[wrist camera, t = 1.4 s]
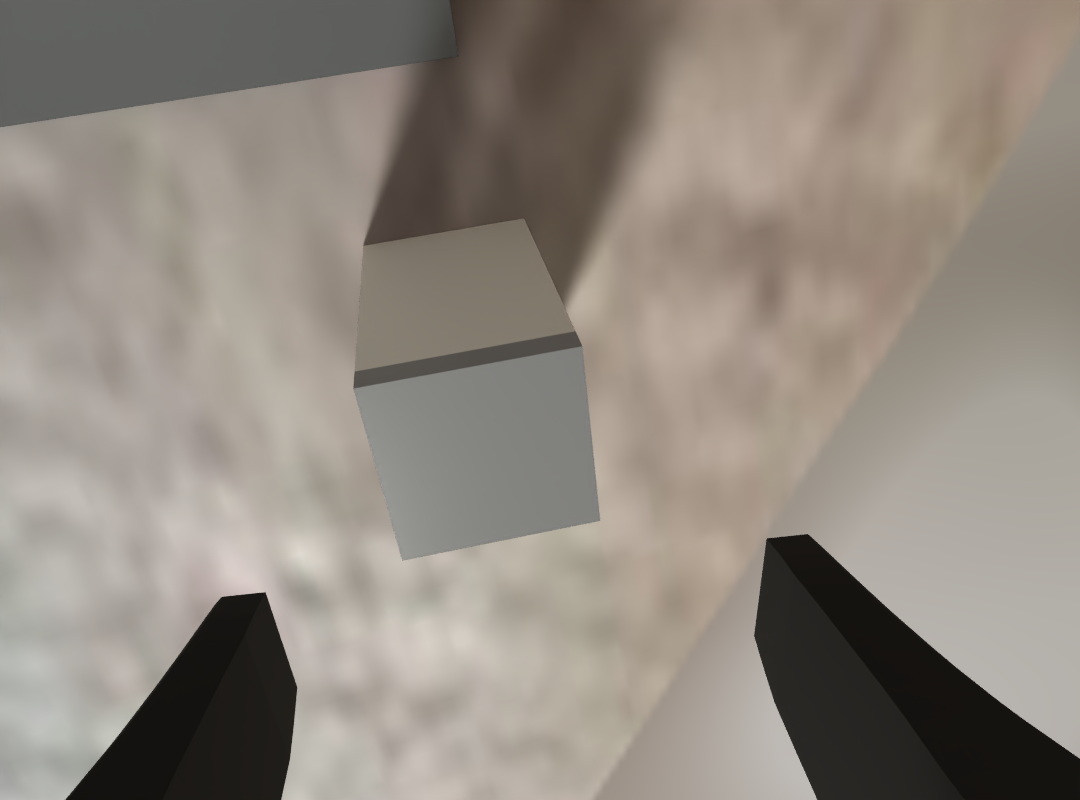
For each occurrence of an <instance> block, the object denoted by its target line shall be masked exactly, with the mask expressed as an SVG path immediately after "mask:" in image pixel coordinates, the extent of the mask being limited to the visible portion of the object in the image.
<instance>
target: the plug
mask: <svg viewBox="0 0 1080 800" xmlns="http://www.w3.org/2000/svg"><path fill="white" fill-rule="evenodd" d="M353 389H354V392H355V396H356V399H357V403H358V406H359V410H360V413H361V417H362V420H363V424H364V427H365V431H366V434H367V438H368V441H369V445H370V449H371V452H372V456H373V459H374V463H375V466H376V470H377V473H378V477H379V480H380V484H381V487H382V491H383V494H384V498H385V501H386V505H387V508H388V512H389V515H390V519H391V522H392V526H393V530H394V533H395V537H396V540H397V544H398V547H399V551H400V554H401V558H402V561H403V560H408V559H413V558H418V557H423V556H428V555H433V554H438V553H443V552H448V551H453V550H458V549H463V548H467V547H472V546H477V545H482V544H487V543H492V542H497V541H502V540H507V539H512V538H517V537H522V536H527V535H532V534H537V533H542V532H547V531H552V530H557V529H562V528H566V527H571V526H576V525H581V524H586V523H591V522H596V521H600V514H599V505H598V495H597V485H596V475H595V465H594V456H593V446H592V436H591V426H590V416H589V407H588V397H587V387H586V377H585V367H584V358H583V348H582V344H581V342H580V340H579V338H578V336H577V334H576V331H575V329H574V327H573V325H572V323H571V320H570V318H569V316H568V314H567V312H566V309H565V307H564V305H563V303H562V301H561V298H560V296H559V294H558V292H557V290H556V288H555V285H554V283H553V281H552V279H551V277H550V274H549V272H548V270H547V268H546V266H545V263H544V261H543V259H542V257H541V255H540V253H539V250H538V248H537V246H536V244H535V242H534V239H533V237H532V235H531V233H530V231H529V228H528V226H527V224H526V222H525V220H524V218H523V219H517V220H511V221H506V222H500V223H494V224H488V225H482V226H476V227H471V228H465V229H459V230H453V231H447V232H441V233H435V234H430V235H424V236H418V237H412V238H406V239H400V240H395V241H389V242H383V243H377V244H371V245H365V246H363V256H362V271H361V285H360V300H359V315H358V329H357V344H356V359H355V374H354V388H353Z"/></svg>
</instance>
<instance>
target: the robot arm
mask: <svg viewBox="0 0 1080 800" xmlns="http://www.w3.org/2000/svg"><path fill="white" fill-rule="evenodd" d="M754 637H755V640H756V643H757V647H758V650H759V654H760V657H761V660H762V664H763V667H764V670H765V674H766V677H767V680H768V683H769V686H770V689H771V692H772V695H773V699H774V702H775V704H776V706H777V709H778V711H779V714H780V716H781V718H782V720H783V723H784V725H785V727H786V730H787V732H788V734H789V737H790V739H791V741H792V743H793V746H794V748H795V750H796V753H797V755H798V757H799V759H800V762H801V764H802V766H803V768H804V771H805V773H806V775H807V777H808V779H809V782H810V784H811V786H812V788H813V791H814V793H815V795H816V798H817V800H1080V759H1079V758H1078V757H1076V756H1075V755H1074V754H1072V753H1071V752H1069V751H1068V750H1066V749H1065V748H1064V747H1062V746H1061V745H1059V744H1058V743H1056V742H1055V741H1054V740H1052V739H1051V738H1049V737H1048V736H1046V735H1045V734H1044V733H1042V732H1040V731H1039V730H1038V729H1036V728H1035V727H1033V726H1032V725H1031V724H1029V723H1028V722H1026V721H1025V720H1023V719H1022V718H1021V717H1019V716H1018V715H1017V714H1015V713H1014V712H1012V711H1011V710H1010V709H1009V708H1007V707H1006V706H1005V705H1003V704H1002V703H1000V702H999V701H998V700H997V699H995V698H994V697H993V696H991V695H990V694H989V693H988V692H986V691H985V690H984V689H983V688H981V687H980V686H979V685H978V684H976V683H975V682H974V681H973V680H971V679H970V678H969V677H967V676H966V675H965V674H964V673H962V672H961V671H960V670H959V669H957V668H956V667H955V666H954V665H953V664H951V663H950V662H949V661H948V660H947V659H945V658H944V657H943V656H942V655H941V654H939V653H938V652H937V651H936V650H935V649H934V648H932V647H931V646H930V645H929V644H928V643H927V642H925V641H924V640H923V639H922V638H921V637H920V636H919V635H917V634H916V633H915V632H914V631H913V630H912V629H911V628H909V627H908V626H907V625H906V624H905V623H904V622H903V621H901V620H900V619H899V618H898V617H897V616H896V615H895V614H894V613H892V612H891V611H890V610H889V609H888V608H887V607H886V606H885V605H884V604H882V603H881V602H880V601H879V600H878V599H877V598H876V597H875V596H874V595H873V594H872V593H870V592H869V591H868V590H867V589H866V588H865V587H864V586H863V585H862V584H861V583H860V582H859V581H857V580H856V579H855V578H854V577H853V576H852V575H851V574H850V573H849V572H848V571H847V570H846V569H845V568H844V567H843V566H842V565H841V564H839V563H838V562H837V561H836V560H835V559H834V558H833V557H832V556H831V555H830V554H829V553H828V552H827V551H826V550H825V549H824V548H822V547H821V546H820V545H819V544H818V543H817V542H816V541H815V540H814V539H813V538H812V537H810V536H809V535H808V534H805V535H796V536H787V537H777V538H768V539H767V540H766V548H765V556H764V564H763V571H762V579H761V587H760V595H759V603H758V610H757V619H756V626H755V634H754ZM296 694H297V686H296V683H295V680H294V677H293V674H292V671H291V668H290V665H289V662H288V659H287V656H286V653H285V650H284V647H283V644H282V641H281V638H280V635H279V632H278V629H277V626H276V623H275V620H274V617H273V613H272V610H271V607H270V604H269V601H268V598H267V595H266V592H264V593H254V594H245V595H236V596H226V597H221V598H220V600H219V601H218V602H217V603H216V604H215V606H214V607H213V608H212V610H211V611H210V612H209V614H208V615H207V617H206V618H205V619H204V621H203V622H202V624H201V625H200V626H199V628H198V629H197V631H196V632H195V633H194V635H193V636H192V638H191V639H190V640H189V642H188V643H187V645H186V646H185V647H184V649H183V650H182V652H181V653H180V654H179V656H178V657H177V658H176V660H175V661H174V663H173V664H172V665H171V667H170V668H169V669H168V671H167V672H166V673H165V675H164V676H163V678H162V679H161V680H160V682H159V683H158V684H157V686H156V687H155V688H154V690H153V691H152V692H151V694H150V695H149V696H148V698H147V699H146V700H145V701H144V703H143V704H142V705H141V707H140V708H139V709H138V711H137V712H136V713H135V715H134V716H133V717H132V719H131V720H130V721H129V722H128V724H127V725H126V726H125V728H124V729H123V730H122V732H121V733H120V734H119V735H118V737H117V738H116V739H115V740H114V742H113V743H112V744H111V745H110V747H109V748H108V749H107V750H106V752H105V753H104V754H103V755H102V756H101V758H100V759H99V760H98V761H97V762H96V764H95V765H94V766H93V767H92V768H91V770H90V771H89V772H88V773H87V774H86V776H85V777H84V778H83V779H82V780H81V782H80V783H79V784H78V785H77V786H76V788H75V789H74V790H73V791H72V792H71V794H70V795H69V796H68V797H67V798H66V800H281V798H282V793H283V789H284V784H285V779H286V775H287V770H288V765H289V761H290V753H291V744H292V736H293V727H294V716H295V705H296Z"/></svg>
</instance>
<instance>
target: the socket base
mask: <svg viewBox="0 0 1080 800" xmlns="http://www.w3.org/2000/svg"><path fill="white" fill-rule="evenodd" d="M451 57H458V50H457V44H456V37H455V31H454V25H453V19H452V12H451V6H450V0H0V127H4V126H11V125H17V124H24V123H30V122H37V121H43V120H50V119H56V118H63V117H69V116H76V115H82V114H89V113H95V112H101V111H108V110H114V109H121V108H127V107H134V106H140V105H147V104H153V103H160V102H166V101H173V100H179V99H186V98H192V97H199V96H205V95H212V94H218V93H225V92H231V91H238V90H244V89H250V88H257V87H263V86H270V85H276V84H283V83H289V82H296V81H302V80H309V79H315V78H322V77H328V76H335V75H341V74H348V73H354V72H361V71H367V70H374V69H380V68H387V67H393V66H399V65H406V64H412V63H419V62H425V61H432V60H438V59H445V58H451Z"/></svg>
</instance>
